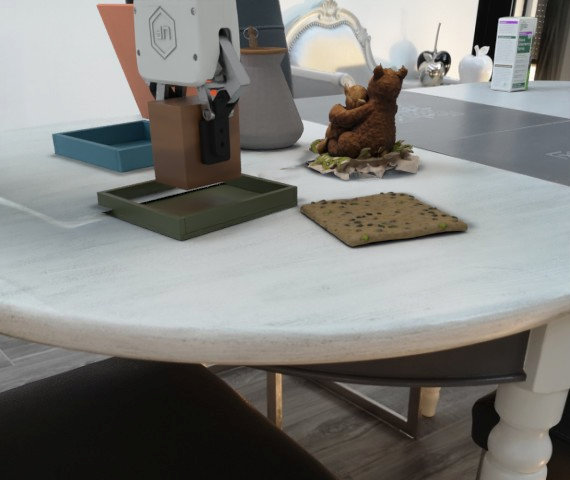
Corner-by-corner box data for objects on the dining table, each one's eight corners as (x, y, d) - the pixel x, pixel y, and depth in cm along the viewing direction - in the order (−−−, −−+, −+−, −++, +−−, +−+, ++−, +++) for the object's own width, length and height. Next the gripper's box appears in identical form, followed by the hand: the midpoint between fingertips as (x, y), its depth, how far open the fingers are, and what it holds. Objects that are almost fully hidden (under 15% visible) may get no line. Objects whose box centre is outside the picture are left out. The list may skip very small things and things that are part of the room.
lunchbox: (122, 179, 79) (119, 150, 77) (55, 159, 88) (51, 133, 86) (216, 159, 88) (214, 133, 86) (146, 143, 97) (144, 119, 96)
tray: (181, 241, 59) (179, 219, 58) (99, 211, 67) (96, 192, 66) (297, 205, 68) (297, 186, 67) (213, 183, 76) (212, 166, 75)
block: (187, 190, 62) (180, 106, 59) (155, 182, 66) (147, 101, 62) (241, 177, 67) (238, 98, 63) (209, 169, 70) (204, 93, 66)
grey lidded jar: (310, 156, 89) (311, 32, 82) (224, 159, 88) (217, 33, 80) (288, 128, 107) (288, 24, 100) (217, 130, 106) (212, 25, 99)
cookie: (297, 210, 66) (297, 200, 66) (403, 197, 70) (404, 188, 70) (349, 247, 57) (350, 236, 56) (470, 230, 60) (471, 220, 60)
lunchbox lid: (170, 6, 76) (174, 3, 76) (95, 5, 85) (99, 3, 85) (213, 131, 86) (216, 129, 86) (142, 118, 95) (145, 116, 96)
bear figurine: (385, 150, 92) (391, 54, 86) (434, 175, 79) (445, 64, 73) (290, 156, 89) (290, 57, 83) (325, 183, 76) (328, 68, 70)
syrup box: (510, 92, 144) (521, 17, 137) (489, 89, 148) (498, 16, 141) (527, 90, 146) (539, 16, 140) (506, 87, 151) (516, 16, 144)
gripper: (88, -56, 59) (115, 152, 68) (213, -69, 49) (226, 179, 58) (156, -53, 64) (174, 141, 73) (283, -64, 54) (286, 164, 62)
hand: (196, 156), depth 65 cm, fingers closed on block, 5 cm apart
